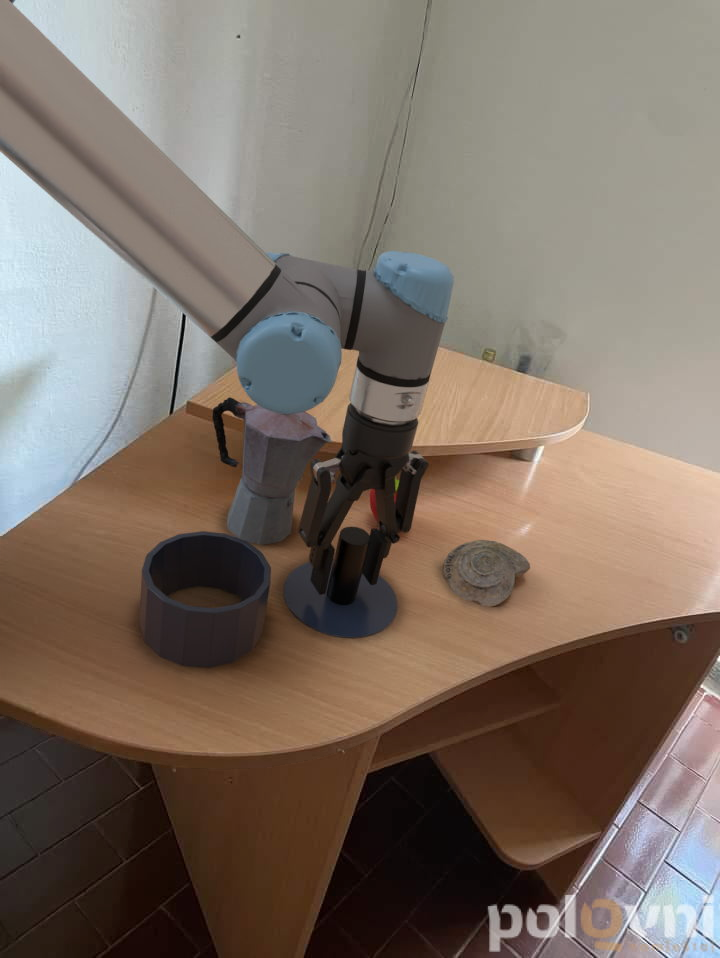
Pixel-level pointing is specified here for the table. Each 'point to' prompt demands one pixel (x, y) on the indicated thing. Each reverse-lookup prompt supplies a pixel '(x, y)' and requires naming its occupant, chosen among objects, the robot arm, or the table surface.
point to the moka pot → (267, 468)
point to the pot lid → (342, 593)
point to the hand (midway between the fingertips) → (343, 582)
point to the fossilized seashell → (484, 571)
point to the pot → (199, 628)
